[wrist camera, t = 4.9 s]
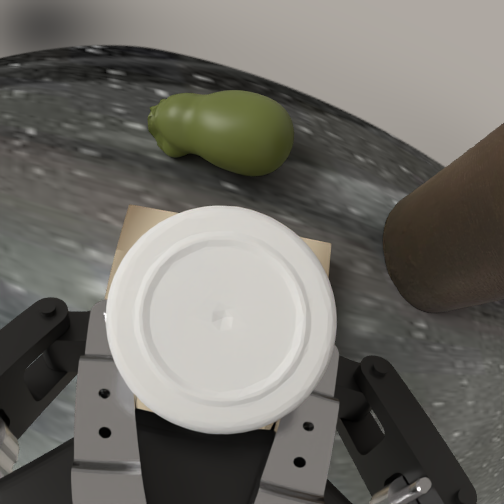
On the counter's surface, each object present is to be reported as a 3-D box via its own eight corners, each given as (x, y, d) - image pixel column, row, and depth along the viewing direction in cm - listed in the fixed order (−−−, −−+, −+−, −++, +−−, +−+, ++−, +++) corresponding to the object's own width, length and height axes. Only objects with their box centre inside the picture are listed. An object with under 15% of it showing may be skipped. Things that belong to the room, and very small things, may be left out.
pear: (285, 153, 16) (124, 124, 17) (279, 200, 21) (147, 168, 22) (305, 88, 17) (163, 67, 18) (297, 138, 22) (177, 114, 23)
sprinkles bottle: (204, 278, 19) (208, 156, 6) (263, 325, 19) (383, 294, 6) (157, 336, 18) (55, 329, 5) (217, 383, 17) (248, 482, 5)
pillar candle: (365, 279, 21) (556, 195, 6) (397, 176, 24) (519, 64, 9) (454, 331, 21) (614, 303, 6) (473, 233, 24) (596, 168, 9)
